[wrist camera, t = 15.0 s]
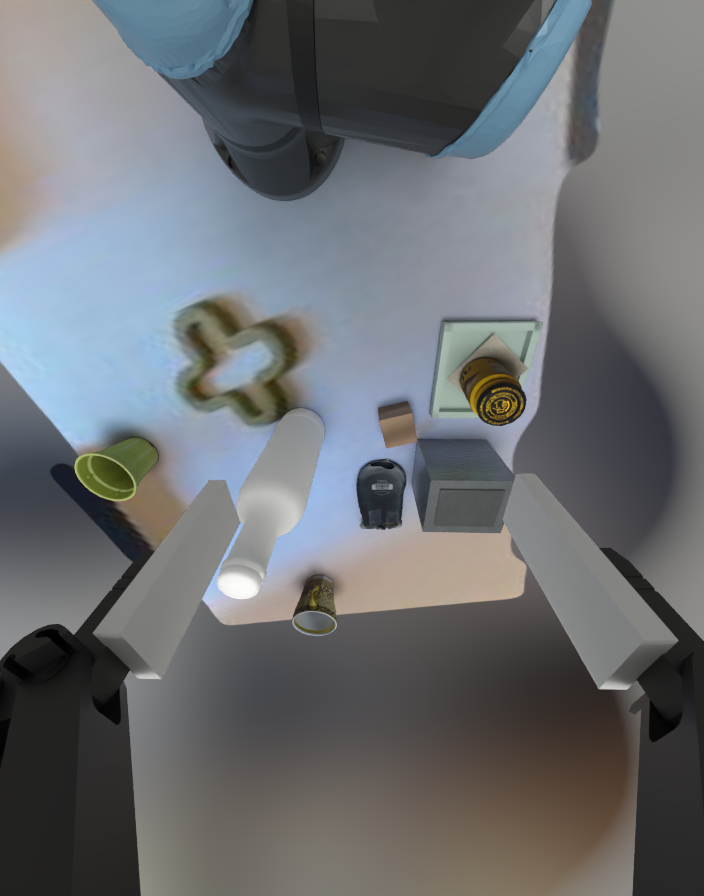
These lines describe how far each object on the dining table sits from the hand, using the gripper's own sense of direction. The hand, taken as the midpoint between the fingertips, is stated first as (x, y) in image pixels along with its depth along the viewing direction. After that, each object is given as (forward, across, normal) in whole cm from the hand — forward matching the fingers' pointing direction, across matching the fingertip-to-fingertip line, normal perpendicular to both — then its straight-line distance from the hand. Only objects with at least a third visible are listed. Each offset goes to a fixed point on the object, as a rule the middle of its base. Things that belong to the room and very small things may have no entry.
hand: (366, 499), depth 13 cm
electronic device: (+34, +2, -28) cm, 44 cm away
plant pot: (+34, -42, -17) cm, 57 cm away
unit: (+34, +14, -21) cm, 42 cm away
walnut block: (+34, +5, -12) cm, 36 cm away
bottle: (+34, -11, -13) cm, 38 cm away
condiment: (+33, +18, -4) cm, 38 cm away
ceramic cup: (+33, -13, -55) cm, 66 cm away
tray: (+34, +17, -4) cm, 38 cm away
